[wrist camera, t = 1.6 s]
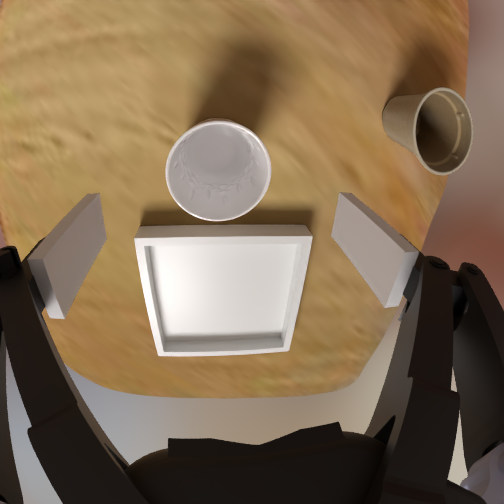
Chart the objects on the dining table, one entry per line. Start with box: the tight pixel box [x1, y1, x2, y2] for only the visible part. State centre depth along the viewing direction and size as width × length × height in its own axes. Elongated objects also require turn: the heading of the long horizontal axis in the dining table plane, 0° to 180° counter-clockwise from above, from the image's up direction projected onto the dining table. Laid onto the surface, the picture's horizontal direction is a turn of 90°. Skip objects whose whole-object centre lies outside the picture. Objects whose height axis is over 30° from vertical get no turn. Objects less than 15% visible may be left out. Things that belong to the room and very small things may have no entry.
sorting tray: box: [134, 224, 313, 356], centre depth 38 cm, size 20×20×3 cm
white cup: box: [166, 118, 271, 221], centre depth 25 cm, size 8×8×10 cm
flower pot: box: [382, 87, 473, 175], centre depth 26 cm, size 9×9×9 cm
